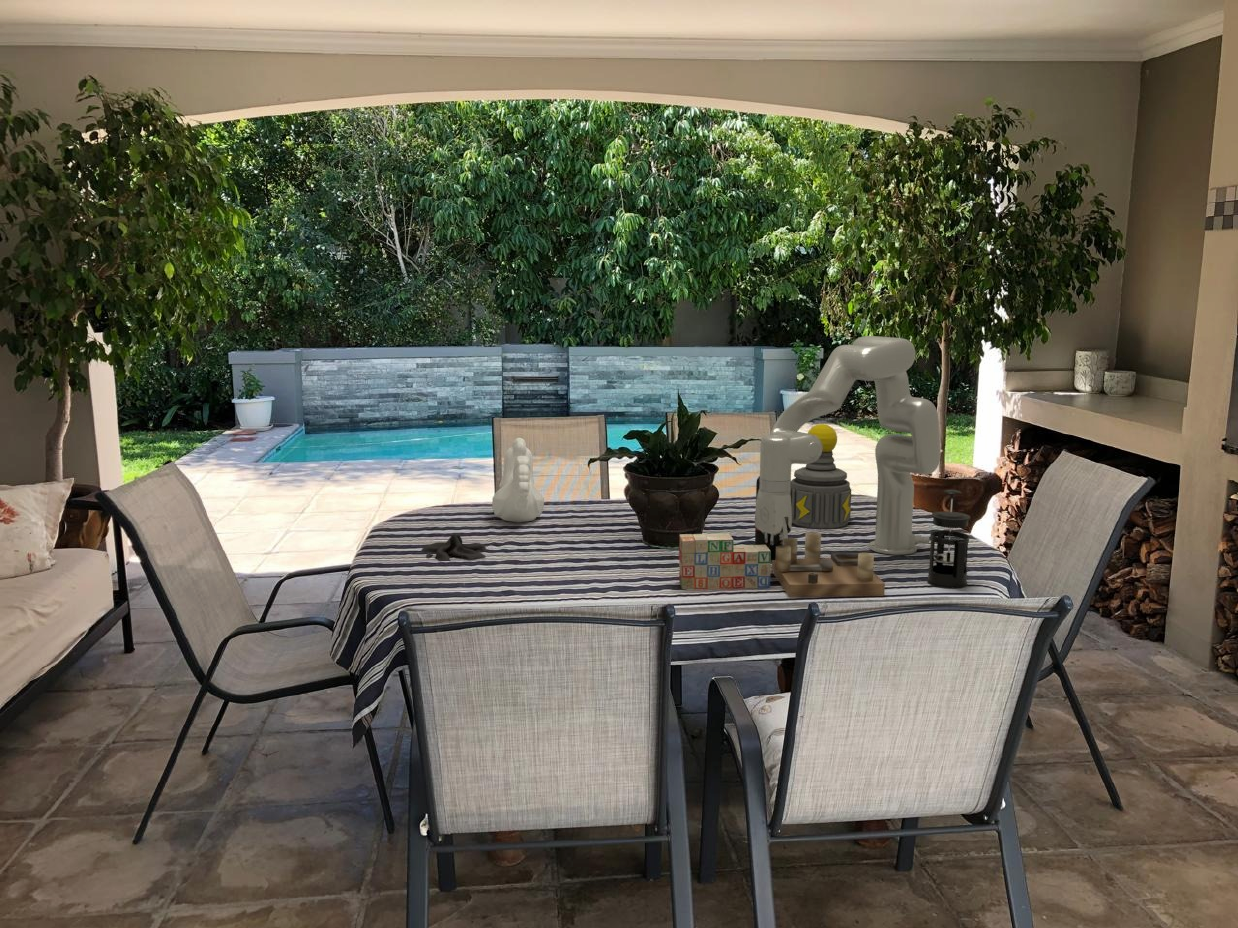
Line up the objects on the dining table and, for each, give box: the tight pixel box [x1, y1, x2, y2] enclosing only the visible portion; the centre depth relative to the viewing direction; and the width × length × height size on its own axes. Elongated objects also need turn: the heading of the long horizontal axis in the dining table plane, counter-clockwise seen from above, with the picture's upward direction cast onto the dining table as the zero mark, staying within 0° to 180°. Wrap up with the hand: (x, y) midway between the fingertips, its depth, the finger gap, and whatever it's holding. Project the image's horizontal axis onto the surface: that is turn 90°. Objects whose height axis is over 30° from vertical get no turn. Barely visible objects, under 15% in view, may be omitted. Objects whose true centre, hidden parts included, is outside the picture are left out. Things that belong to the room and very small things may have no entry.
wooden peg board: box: [771, 537, 886, 598], centre depth 257 cm, size 22×22×9 cm
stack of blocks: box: [678, 532, 772, 590], centre depth 255 cm, size 21×6×12 cm, turn 93°
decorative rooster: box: [491, 437, 545, 523], centre depth 317 cm, size 25×16×25 cm, turn 179°
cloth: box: [420, 532, 488, 562], centre depth 283 cm, size 22×19×6 cm
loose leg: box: [804, 531, 822, 558], centre depth 274 cm, size 4×4×8 cm
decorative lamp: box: [790, 423, 852, 530], centre depth 317 cm, size 19×19×30 cm
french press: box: [926, 489, 971, 590], centre depth 255 cm, size 12×9×23 cm
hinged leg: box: [775, 545, 833, 572], centre depth 257 cm, size 14×4×6 cm, turn 92°
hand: (773, 558), depth 261 cm, fingers closed
